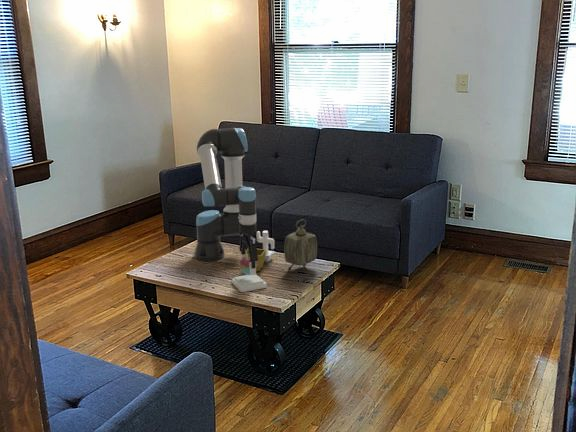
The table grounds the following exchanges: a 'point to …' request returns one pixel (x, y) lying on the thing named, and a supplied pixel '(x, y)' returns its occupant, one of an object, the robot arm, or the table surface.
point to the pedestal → (249, 282)
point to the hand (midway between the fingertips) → (248, 271)
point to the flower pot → (259, 258)
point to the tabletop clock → (300, 247)
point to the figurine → (266, 244)
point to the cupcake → (246, 264)
